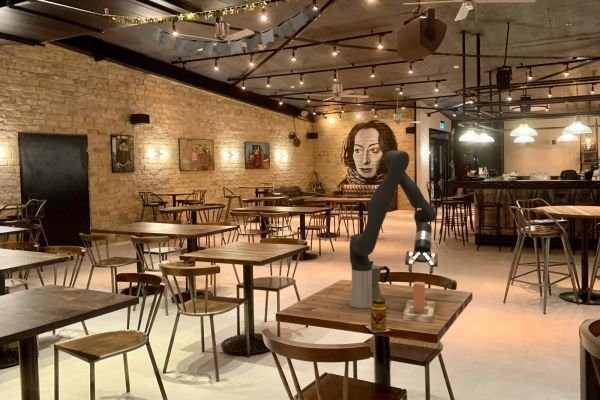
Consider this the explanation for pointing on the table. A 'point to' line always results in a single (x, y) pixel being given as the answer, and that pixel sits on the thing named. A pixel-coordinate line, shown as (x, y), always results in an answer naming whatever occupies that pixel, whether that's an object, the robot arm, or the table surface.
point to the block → (418, 296)
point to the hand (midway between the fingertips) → (420, 272)
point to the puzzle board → (419, 316)
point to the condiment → (378, 316)
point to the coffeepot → (377, 279)
